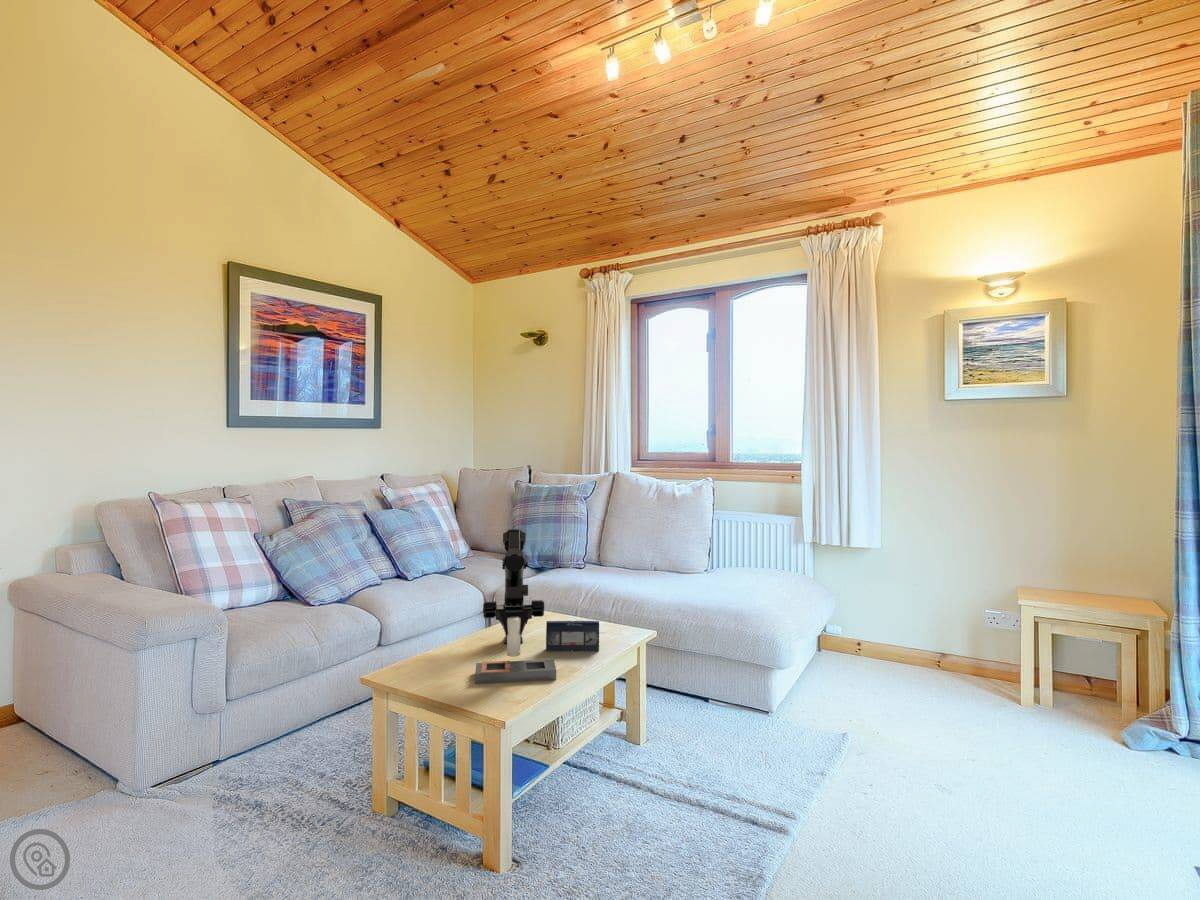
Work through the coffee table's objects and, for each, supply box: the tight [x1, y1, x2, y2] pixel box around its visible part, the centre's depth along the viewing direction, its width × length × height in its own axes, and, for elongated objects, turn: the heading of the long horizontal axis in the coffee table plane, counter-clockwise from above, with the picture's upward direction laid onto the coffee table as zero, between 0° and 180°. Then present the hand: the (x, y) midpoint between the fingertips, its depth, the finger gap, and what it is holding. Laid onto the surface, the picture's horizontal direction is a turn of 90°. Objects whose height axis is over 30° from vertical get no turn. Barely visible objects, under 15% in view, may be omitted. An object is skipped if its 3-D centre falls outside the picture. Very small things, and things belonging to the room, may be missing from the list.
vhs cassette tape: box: [545, 620, 600, 652], centre depth 209 cm, size 18×3×10 cm, turn 91°
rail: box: [474, 658, 557, 685], centre depth 186 cm, size 9×24×3 cm, turn 99°
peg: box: [506, 617, 521, 658], centre depth 185 cm, size 4×4×11 cm
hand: (513, 634), depth 183 cm, fingers closed on peg, 4 cm apart
